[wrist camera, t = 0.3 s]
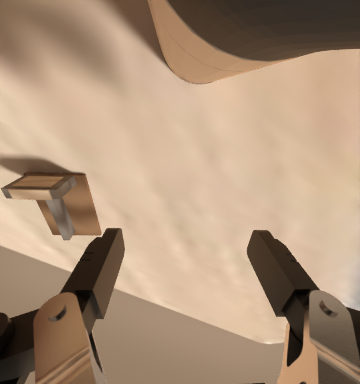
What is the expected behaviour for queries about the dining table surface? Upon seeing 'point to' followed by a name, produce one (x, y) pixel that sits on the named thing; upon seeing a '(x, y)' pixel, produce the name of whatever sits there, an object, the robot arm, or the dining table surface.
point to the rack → (59, 201)
